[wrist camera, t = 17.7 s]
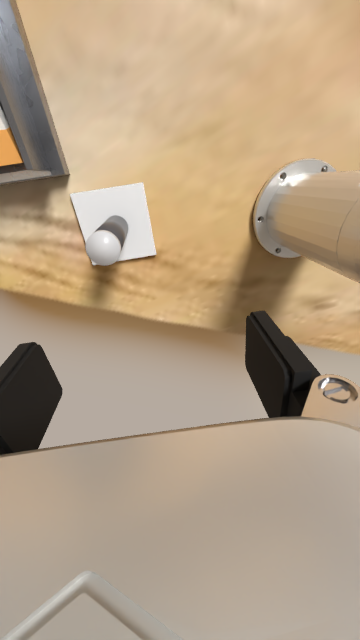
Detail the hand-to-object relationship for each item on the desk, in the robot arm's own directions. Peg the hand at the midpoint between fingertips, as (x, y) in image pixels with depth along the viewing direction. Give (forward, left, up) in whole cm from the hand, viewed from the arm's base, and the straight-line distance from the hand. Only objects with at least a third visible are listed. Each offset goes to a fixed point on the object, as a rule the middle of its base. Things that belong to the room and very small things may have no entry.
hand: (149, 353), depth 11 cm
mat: (+4, -2, -27) cm, 27 cm away
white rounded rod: (+4, -2, -26) cm, 26 cm away
